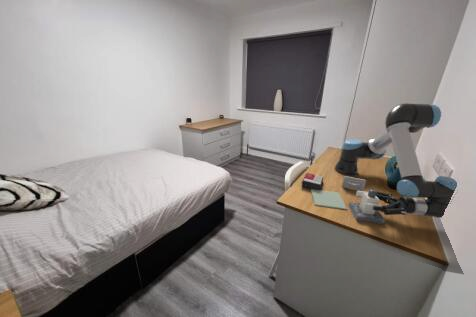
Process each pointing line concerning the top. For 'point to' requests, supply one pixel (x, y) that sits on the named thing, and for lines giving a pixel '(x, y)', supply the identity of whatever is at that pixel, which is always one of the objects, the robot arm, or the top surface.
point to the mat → (328, 199)
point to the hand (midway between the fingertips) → (360, 199)
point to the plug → (368, 201)
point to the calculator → (312, 181)
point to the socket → (365, 217)
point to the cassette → (358, 186)
